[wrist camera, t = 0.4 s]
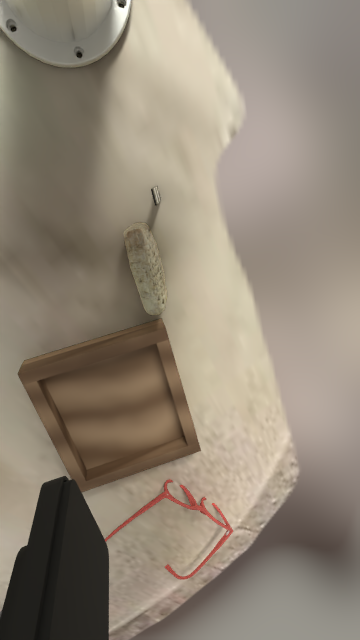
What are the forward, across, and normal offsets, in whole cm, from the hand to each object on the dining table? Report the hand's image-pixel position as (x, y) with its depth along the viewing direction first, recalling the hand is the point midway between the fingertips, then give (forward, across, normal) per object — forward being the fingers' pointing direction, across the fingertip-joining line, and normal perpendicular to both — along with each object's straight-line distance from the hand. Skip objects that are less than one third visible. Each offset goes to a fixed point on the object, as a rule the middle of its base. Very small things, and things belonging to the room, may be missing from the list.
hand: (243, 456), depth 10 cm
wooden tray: (+32, +8, +17) cm, 37 cm away
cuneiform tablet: (+32, -1, -2) cm, 32 cm away
